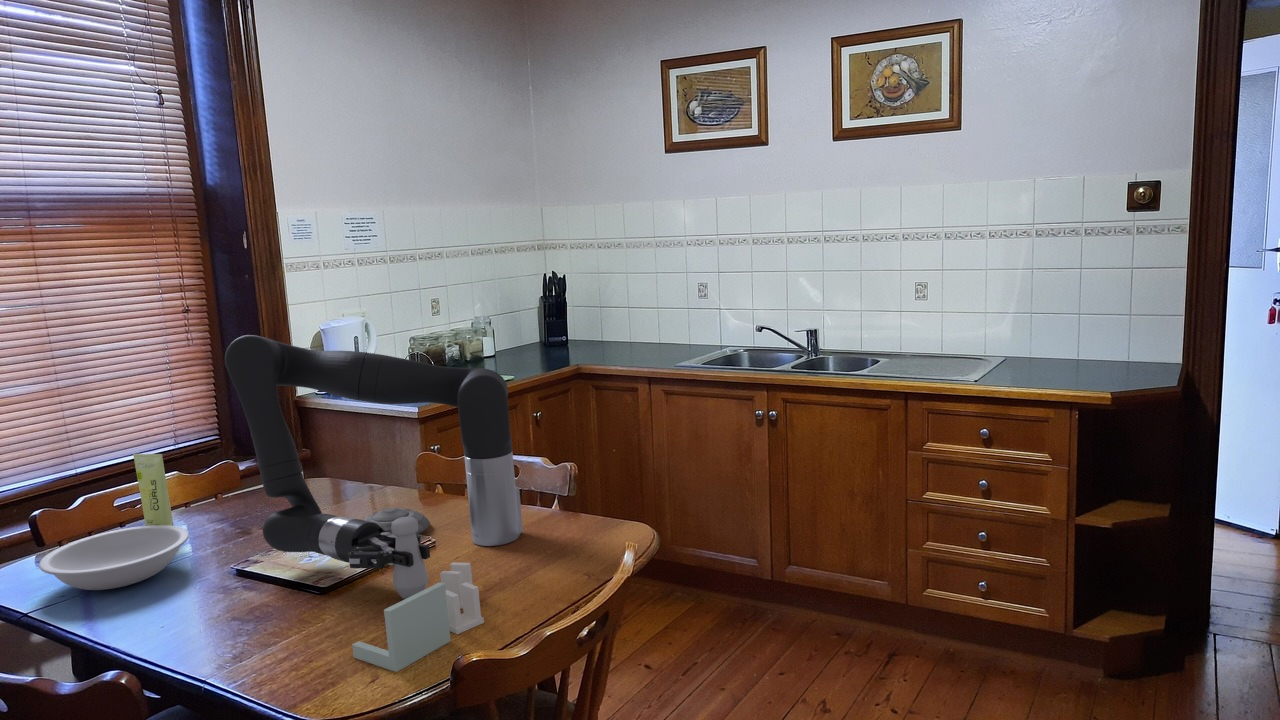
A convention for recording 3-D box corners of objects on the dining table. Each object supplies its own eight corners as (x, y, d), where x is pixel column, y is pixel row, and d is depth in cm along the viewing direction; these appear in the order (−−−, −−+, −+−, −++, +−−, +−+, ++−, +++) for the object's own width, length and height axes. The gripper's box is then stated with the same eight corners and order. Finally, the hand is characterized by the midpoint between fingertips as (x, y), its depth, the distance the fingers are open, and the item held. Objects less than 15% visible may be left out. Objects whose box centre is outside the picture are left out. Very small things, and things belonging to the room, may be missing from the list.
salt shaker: (420, 601, 147) (412, 525, 145) (388, 600, 148) (379, 525, 146) (435, 586, 152) (427, 513, 150) (404, 585, 154) (395, 512, 152)
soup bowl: (134, 551, 182) (129, 520, 181) (222, 562, 173) (217, 530, 172) (13, 600, 161) (7, 565, 160) (107, 616, 151) (101, 579, 150)
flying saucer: (342, 537, 184) (338, 511, 183) (408, 517, 194) (405, 493, 193) (375, 554, 173) (372, 526, 172) (444, 532, 183) (441, 506, 182)
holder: (408, 628, 140) (402, 573, 138) (450, 640, 134) (444, 583, 133) (353, 657, 131) (346, 599, 130) (396, 672, 126) (389, 611, 124)
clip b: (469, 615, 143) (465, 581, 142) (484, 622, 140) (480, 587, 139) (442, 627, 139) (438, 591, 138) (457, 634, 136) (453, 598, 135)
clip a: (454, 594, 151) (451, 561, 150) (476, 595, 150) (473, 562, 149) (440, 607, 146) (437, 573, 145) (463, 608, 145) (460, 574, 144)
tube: (144, 552, 181) (129, 458, 178) (147, 544, 186) (133, 453, 183) (175, 547, 184) (161, 454, 180) (177, 539, 188) (164, 448, 185)
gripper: (314, 533, 151) (383, 549, 141) (381, 507, 162) (449, 521, 153) (320, 575, 152) (389, 594, 142) (385, 547, 163) (453, 563, 154)
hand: (419, 556), depth 148 cm, fingers closed on salt shaker, 3 cm apart
